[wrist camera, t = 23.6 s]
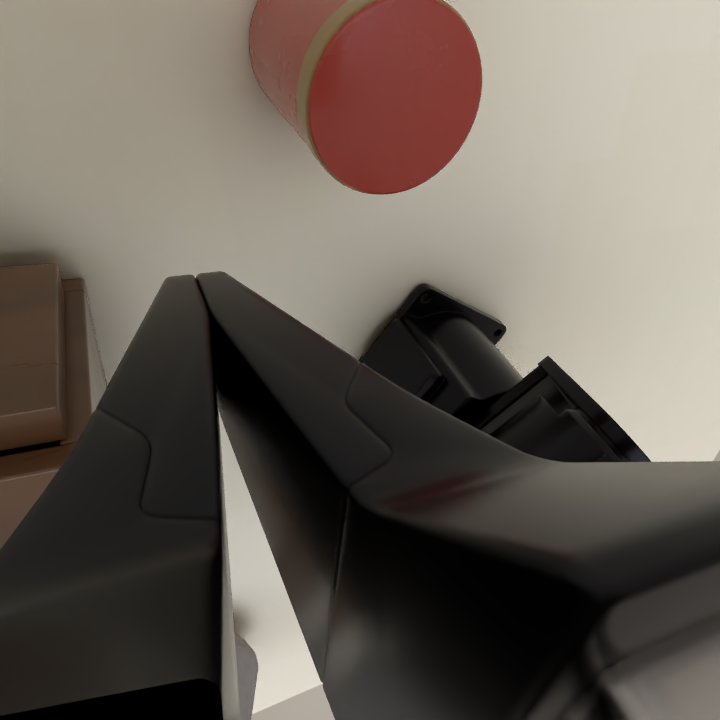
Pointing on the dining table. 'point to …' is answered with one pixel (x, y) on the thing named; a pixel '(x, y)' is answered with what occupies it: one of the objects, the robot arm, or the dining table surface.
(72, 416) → the cabinet
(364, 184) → the tin
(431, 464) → the robot arm
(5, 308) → the drawer
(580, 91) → the dining table surface
